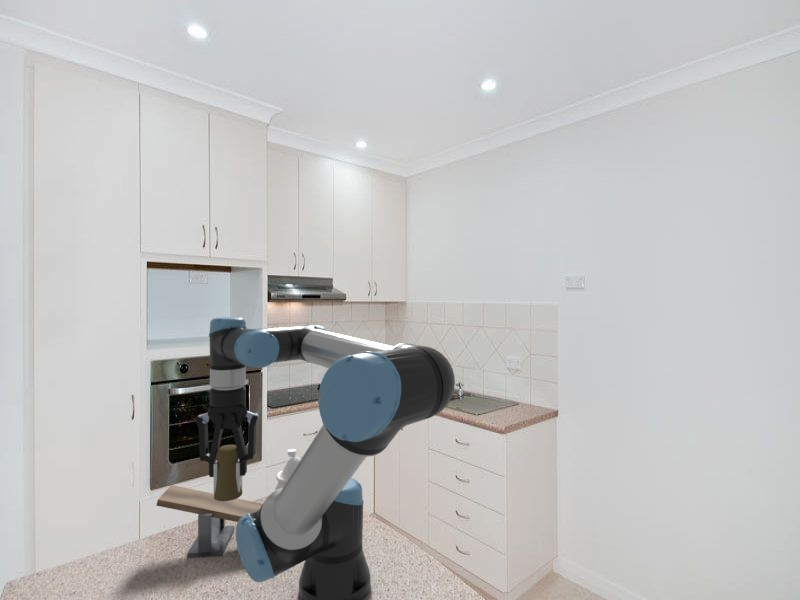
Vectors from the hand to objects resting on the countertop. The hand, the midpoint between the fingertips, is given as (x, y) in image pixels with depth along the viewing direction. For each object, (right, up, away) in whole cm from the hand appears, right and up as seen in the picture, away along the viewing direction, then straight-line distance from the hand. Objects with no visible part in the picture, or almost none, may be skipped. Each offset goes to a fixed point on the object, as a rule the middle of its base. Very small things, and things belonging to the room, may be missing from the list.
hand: (228, 489), depth 100 cm
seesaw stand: (-8, -18, +11) cm, 23 cm away
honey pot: (+9, -18, +26) cm, 33 cm away
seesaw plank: (-8, -9, +11) cm, 17 cm away
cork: (0, -1, 0) cm, 1 cm away
